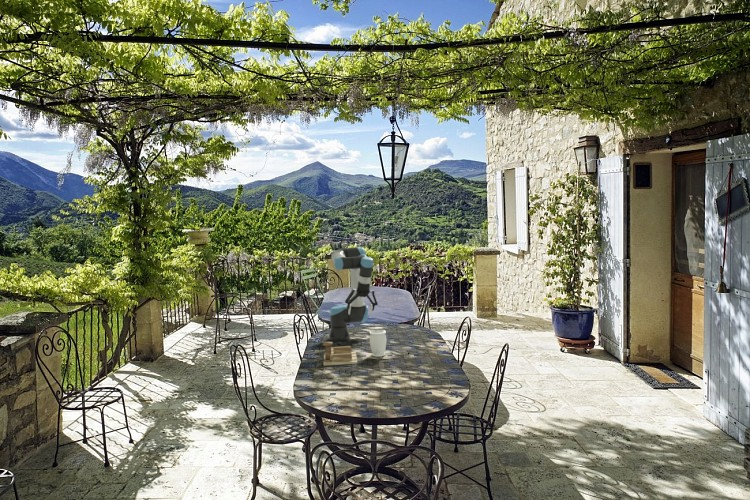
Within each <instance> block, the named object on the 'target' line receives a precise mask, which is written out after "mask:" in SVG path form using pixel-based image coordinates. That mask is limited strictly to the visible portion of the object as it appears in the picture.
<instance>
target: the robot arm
mask: <svg viewBox="0 0 750 500" xmlns="http://www.w3.org/2000/svg"><path fill="white" fill-rule="evenodd" d="M330 259H331V263H333V264H334V265H333V266H334V270H336V271H337V270H339V271H342V270H349V271H350V272H349V273H350V293H349V294H348V296H347V297H346V299H345V300H344V302H345V304H339V305H334V306H332V307H331V308H330V309H329V316H330V318H329V319H330V329H329V332H328V333H329V334H328V340H329V341H330V342H343V341H348V340H350V339H351V333H350V332H349V328H348V324H357V323H358V324H359V323H366V322H367V320H368V317H369V316H370V317H372V315H373V311H374V310H375V307H376V306H378V305H379V303H378V301H377V298H376V295H375V291H374V289H370V288H371V282H372V274H373V267H374V258H372V257H370V256H367V253H366V249H365V248H364V247H360V246H356V247H345V248H344V247H342V248H339V249H336V250H335V251H333V252H332V254H331V256H330ZM369 294H371V295H372V298H373V299H371V297H370V295H369ZM364 298H366V299H368V301H369V302H370V303H371V304H370V309H369V307H368V305H367V304H366V303H365V302H364ZM346 304H347V305H346ZM369 310H370V311H369ZM368 315H369V316H368Z"/></svg>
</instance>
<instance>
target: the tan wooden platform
mask: <svg viewBox="0 0 750 500" xmlns="http://www.w3.org/2000/svg"><path fill="white" fill-rule="evenodd" d="M333 342H334V341H324V342H322V346H323V347H324V353H323V362H322V363H323V366H325V367H326V366H337V365H338V366H339V365H351V364H353V365H354V364H355V365H356V364H358V359H357V351H352V347H351V345H345V346H333V345H334V344H333Z"/></svg>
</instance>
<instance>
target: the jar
mask: <svg viewBox="0 0 750 500" xmlns="http://www.w3.org/2000/svg"><path fill="white" fill-rule="evenodd" d="M386 334H387V331H386V330H385V329H373V330H370V331H369V344H370V350H371V352H372V354H371V356H372V357H375V358H377V357H379V358H380V357H385V356H386V353H385V352H386V349H387V348H386V347H387V335H386Z"/></svg>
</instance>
